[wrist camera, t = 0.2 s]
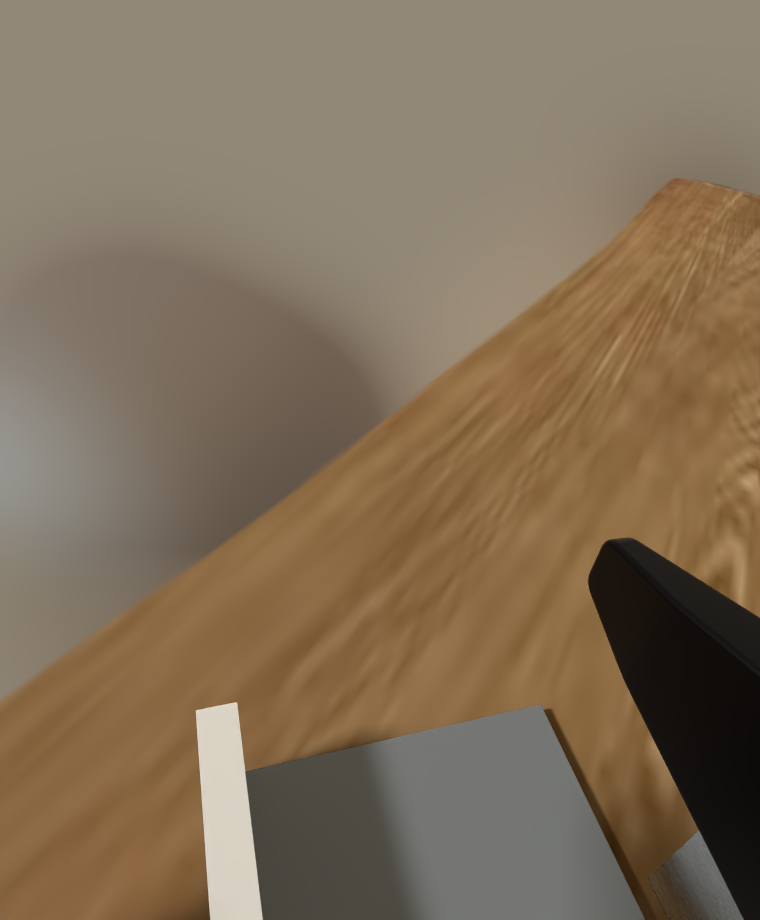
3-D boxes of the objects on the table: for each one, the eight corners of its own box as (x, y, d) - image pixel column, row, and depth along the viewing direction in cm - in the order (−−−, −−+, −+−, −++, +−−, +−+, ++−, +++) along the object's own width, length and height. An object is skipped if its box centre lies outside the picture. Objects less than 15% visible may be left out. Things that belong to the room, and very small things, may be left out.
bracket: (691, 963, 20) (777, 908, 17) (576, 737, 26) (623, 658, 22) (886, 892, 22) (999, 829, 19) (742, 696, 28) (810, 618, 24)
